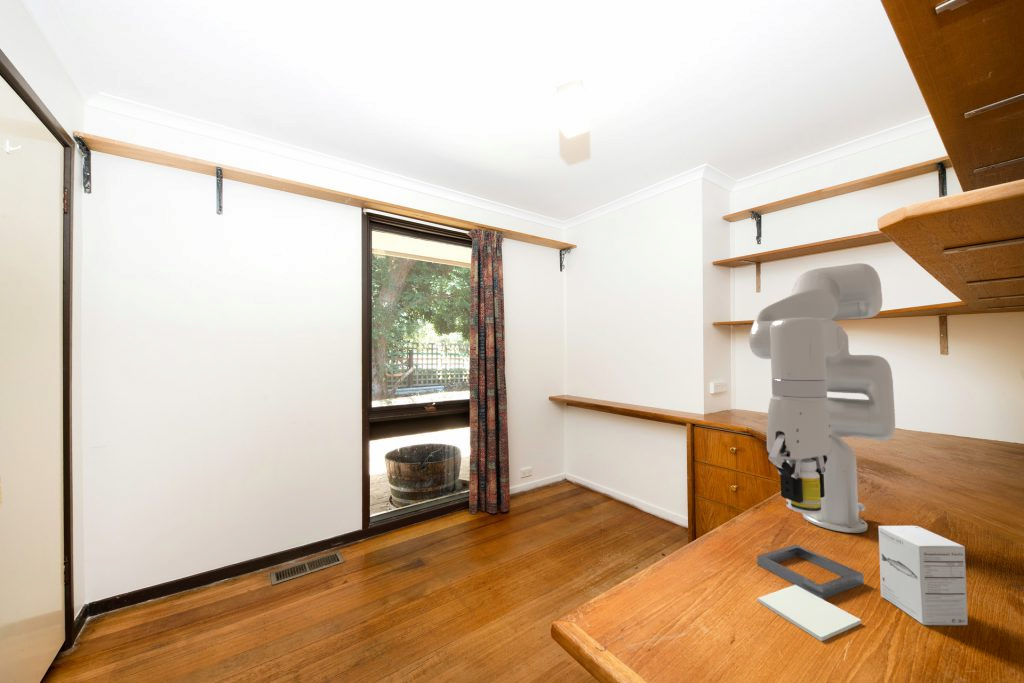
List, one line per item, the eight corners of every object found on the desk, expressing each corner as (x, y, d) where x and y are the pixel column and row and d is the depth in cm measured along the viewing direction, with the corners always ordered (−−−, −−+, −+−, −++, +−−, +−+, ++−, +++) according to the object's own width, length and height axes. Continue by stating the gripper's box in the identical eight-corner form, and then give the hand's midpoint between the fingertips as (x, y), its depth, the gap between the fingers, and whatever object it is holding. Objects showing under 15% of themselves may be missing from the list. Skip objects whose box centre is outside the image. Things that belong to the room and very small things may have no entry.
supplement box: (878, 596, 67) (875, 524, 68) (921, 596, 67) (918, 524, 68) (922, 626, 60) (918, 545, 60) (971, 626, 60) (966, 545, 60)
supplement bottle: (828, 515, 62) (826, 463, 62) (799, 515, 62) (797, 463, 62) (806, 503, 67) (804, 455, 67) (779, 503, 67) (777, 455, 67)
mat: (795, 587, 70) (795, 584, 70) (861, 623, 61) (861, 619, 61) (757, 601, 67) (757, 597, 67) (821, 641, 57) (821, 637, 57)
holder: (796, 552, 82) (795, 544, 82) (863, 583, 71) (863, 574, 71) (757, 564, 78) (757, 555, 78) (823, 599, 67) (822, 589, 67)
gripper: (807, 385, 71) (811, 483, 71) (742, 390, 65) (746, 497, 65) (854, 389, 64) (859, 497, 64) (788, 394, 58) (792, 514, 58)
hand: (802, 496), depth 64 cm, fingers closed on supplement bottle, 4 cm apart
